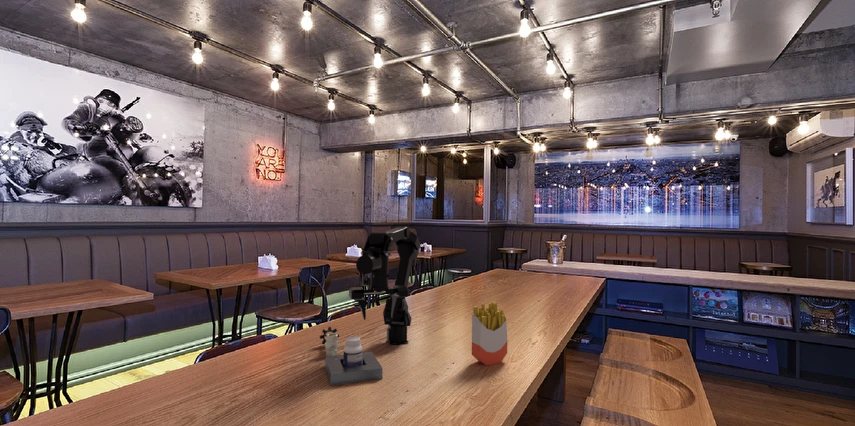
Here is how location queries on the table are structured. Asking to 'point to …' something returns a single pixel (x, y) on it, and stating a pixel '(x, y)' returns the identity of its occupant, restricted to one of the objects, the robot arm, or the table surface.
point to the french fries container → (489, 334)
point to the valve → (330, 341)
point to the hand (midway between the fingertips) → (378, 318)
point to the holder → (352, 369)
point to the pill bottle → (353, 352)
